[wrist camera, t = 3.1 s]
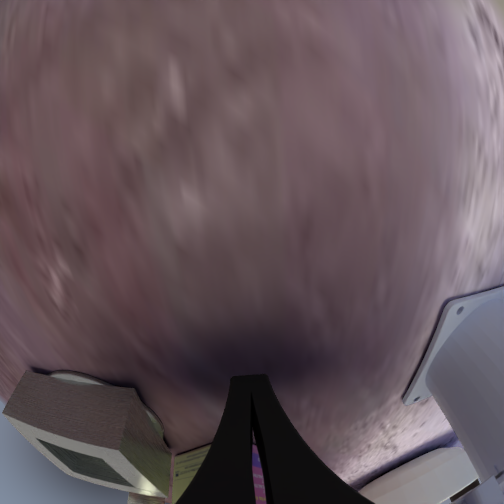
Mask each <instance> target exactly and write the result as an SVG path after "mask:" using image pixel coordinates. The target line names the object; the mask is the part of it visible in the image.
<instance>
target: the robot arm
mask: <svg viewBox="0 0 504 504" xmlns="http://www.w3.org/2000/svg"><path fill="white" fill-rule="evenodd" d="M431 396H433V397H434V399H435V400H436V402H437V404H438V405H439V407H440V408H441V410H442V412H443V413H444V415H445V417H446V418H447V420H448V422H449V423H450V425H451V427H452V428H453V430H454V432H455V434H456V435H457V437H458V439H459V441H460V442H461V444H462V446H463V448H464V449H465V451H466V453H467V455H468V457H469V459H470V461H471V462H472V464H473V466H474V468H475V470H476V472H477V474H478V476H479V478H480V480H481V482H482V483H481V484H480V485H478V486H477V487H475V488H474V489H472V490H470V491H469V492H467V493H466V494H464V495H462V496H461V497H459V498H458V499H456V500H455V501H453V502H452V503H450V504H504V286H502V287H499V288H496V289H492V290H489V291H486V292H482V293H478V294H475V295H471V296H467V297H463V298H459V299H455V300H452V301H450V302H449V303H448V304H447V305H446V306H445V308H444V310H443V313H442V316H441V319H440V321H439V324H438V326H437V329H436V331H435V334H434V336H433V339H432V341H431V343H430V346H429V348H428V350H427V353H426V355H425V357H424V359H423V361H422V363H421V365H420V367H419V369H418V372H417V374H416V375H415V377H414V379H413V381H412V383H411V385H410V387H409V389H408V391H407V393H406V394H405V396H404V398H403V400H402V402H403V404H404V405H405V406H407V405H410V404H413V403H416V402H418V401H421V400H423V399H426V398H428V397H431ZM253 431H254V436H255V440H256V445H257V450H258V454H259V459H260V463H261V468H262V473H263V479H264V487H265V496H266V504H375V503H374V502H372V501H370V500H369V499H367V498H366V497H364V496H363V495H361V494H360V493H358V492H357V491H355V490H354V489H353V488H352V487H350V486H349V485H348V484H346V483H345V482H344V481H343V480H342V479H340V478H339V477H338V476H337V475H336V474H335V473H334V472H333V471H332V470H330V469H329V468H328V467H327V466H326V465H325V464H324V463H323V462H322V461H321V460H320V459H319V458H318V456H317V455H316V454H315V453H314V452H313V451H312V450H311V449H310V447H309V446H308V445H307V444H306V442H305V441H304V440H303V439H302V437H301V436H300V435H299V433H298V432H297V430H296V429H295V428H294V426H293V425H292V423H291V422H290V420H289V418H288V417H287V415H286V413H285V412H284V410H283V408H282V407H281V405H280V403H279V401H278V399H277V397H276V395H275V393H274V391H273V389H272V386H271V384H270V381H269V378H268V376H267V375H266V374H260V375H246V376H233V377H232V378H231V379H230V388H229V394H228V398H227V402H226V406H225V409H224V413H223V416H222V419H221V422H220V425H219V427H218V430H217V432H216V435H215V437H214V440H213V442H212V444H211V446H210V449H209V451H208V453H207V455H206V457H205V459H204V460H203V462H202V464H201V466H200V468H199V469H198V471H197V473H196V474H195V476H194V478H193V479H192V481H191V482H190V484H189V485H188V487H187V488H186V490H185V491H184V492H183V494H182V495H181V496H180V498H179V499H178V500H177V502H176V503H175V504H256V498H255V489H254V480H253V470H252V448H253Z"/></svg>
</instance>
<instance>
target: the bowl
mask: <svg viewBox="0 0 504 504" xmlns="http://www.w3.org/2000/svg"><path fill="white" fill-rule="evenodd" d="M478 478H479V476H478V474H477V472H476V470H475V468H474V466H473V464H472V462H471V461H470V459H469V457H468V455H467V453H466V451H465V450H464V449H462V448H460V447H451V448H439V449H436V450H433V451H431V452H428V453H426V454H424V455H422V456H420V457H418V458H416V459H414V460H412V461H410V462H408V463H406V464H404V465H402V466H400V467H398V468H396V469H394V470H392V471H390V472H389V473H387V474H385V475H383V476H381V477H379V478H377V479H376V480H374V481H372V482H371V483H369V484H367V485H366V486H364V487H363V488H362V489H361V490H360V491H359V492H358V493H360V494H361V495H363V496H364V497H366V498H367V499H369V500H370V501H372V502H374V503H375V504H440V503H441V502H443V501H445V500H446V499H448V498H450V497H451V496H453V495H455V494H456V493H458V492H459V491H461V490H462V489H464V488H465V487H467V486H468V485H469V484H471V483H472V482H474V481H475V480H476V479H478Z"/></svg>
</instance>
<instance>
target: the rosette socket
mask: <svg viewBox="0 0 504 504" xmlns="http://www.w3.org/2000/svg"><path fill="white" fill-rule="evenodd" d="M2 413H3V414H4V416H5V417H6V418H7V419H8V420H9V422H10V423H11V424H12V425H13V426H14V427H15V428H16V429H17V430H18V431H19V432H20V433H21V434H22V435H23V436H24V437H25V438H26V439H27V440H28V441H29V442H30V443H31V444H32V445H33V446H34V447H35V448H36V449H37V450H39V451H40V452H41V453H42V454H43V455H44V456H45V457H47V458H48V459H49V460H50V461H51V462H52V463H53V464H55V465H56V466H57V467H58V468H60V469H61V470H62V471H63V472H65V473H66V474H67V475H70V476H73V477H76V478H79V479H82V480H85V481H88V482H92V483H95V484H99V485H102V486H106V487H110V488H114V489H119V490H123V491H128V492H133V493H138V494H144V495H150V496H157V497H165V498H168V491H169V478H170V467H171V456H172V453H171V452H170V450H169V449H168V447H167V446H166V444H165V442H164V441H163V434H164V428H163V425H162V423H161V421H160V419H159V418H158V417H157V416H156V414H155V413H154V412H153V411H152V410H151V409H150V408H148V407H147V406H146V405H145V404H143V403H142V402H141V400H140V398H139V397H138V395H137V393H136V391H135V389H134V388H124V387H116V386H114V385H112V384H110V383H107V382H105V381H103V380H100V379H98V378H95V377H92V376H90V375H86V374H83V373H79V372H74V371H66V370H59V371H54V372H51V373H49V374H48V375H43V374H39V373H35V372H31V371H27V370H26V371H25V373H24V375H23V376H22V378H21V380H20V381H19V383H18V385H17V386H16V388H15V390H14V392H13V393H12V395H11V397H10V399H9V401H8V403H7V404H6V406H5V408H4V410H3V412H2Z"/></svg>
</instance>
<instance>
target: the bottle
mask: <svg viewBox="0 0 504 504" xmlns="http://www.w3.org/2000/svg"><path fill="white" fill-rule="evenodd" d="M478 485H480V483H479V481H478V479H476V480H475V481H474V482H472V483H471V484H469V485H468V486H467V487H465V488H464V489H462V490H461V491H459V492H458V493H456V494H455V495H453V496H451V497H450V500H451V502H453V501H455V500H456V499H458V498H459V497H461V496H462V495H464V494H466V493H467V492H469V491H470V490H472V489H474V488H475V487H477V486H478Z"/></svg>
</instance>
